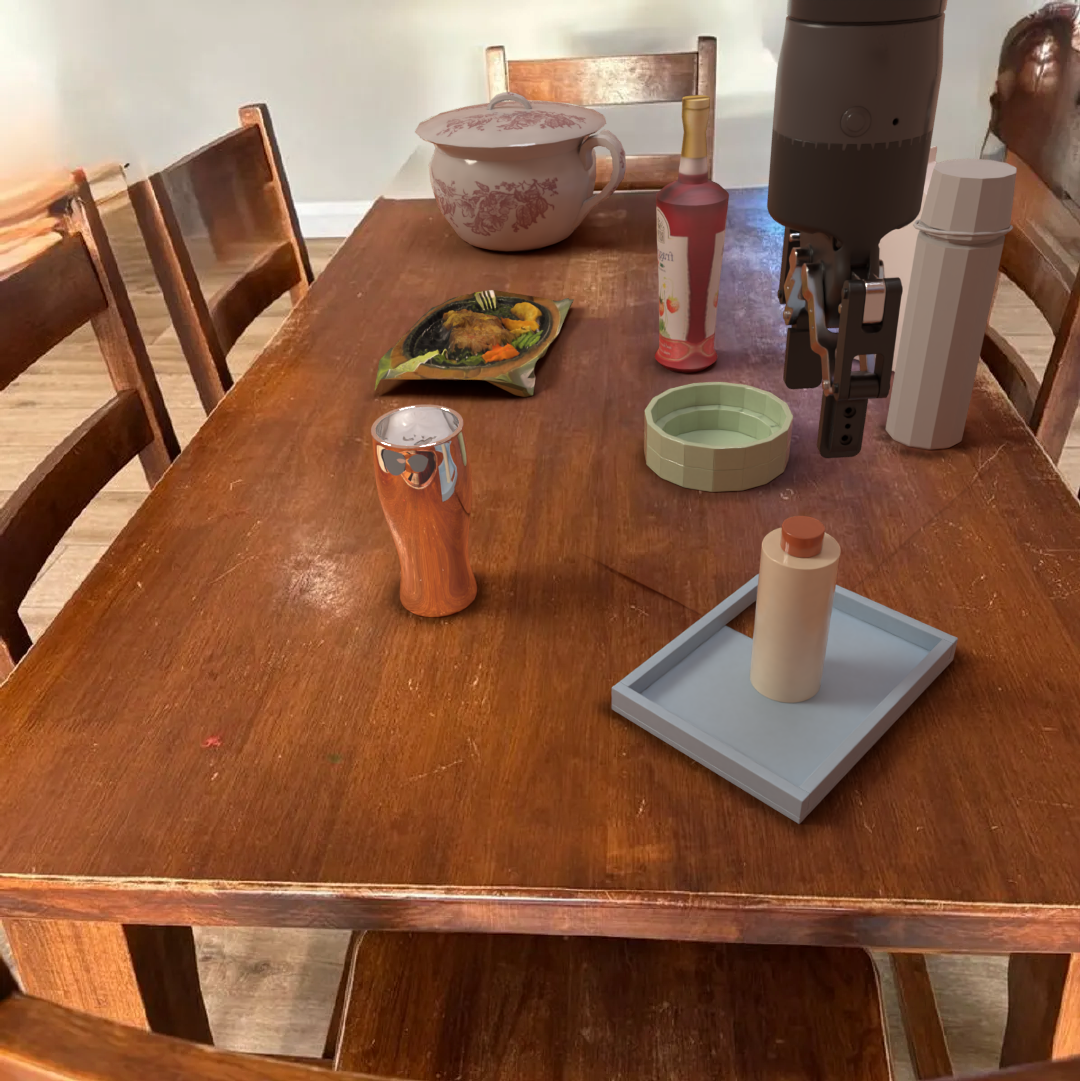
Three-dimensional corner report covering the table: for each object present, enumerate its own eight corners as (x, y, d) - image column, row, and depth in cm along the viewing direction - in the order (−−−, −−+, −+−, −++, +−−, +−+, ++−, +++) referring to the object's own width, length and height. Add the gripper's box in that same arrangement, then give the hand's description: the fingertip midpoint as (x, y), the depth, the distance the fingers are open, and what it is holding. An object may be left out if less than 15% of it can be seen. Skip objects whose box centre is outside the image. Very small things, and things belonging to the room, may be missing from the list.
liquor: (728, 375, 110) (746, 101, 95) (664, 384, 109) (671, 108, 93) (705, 349, 116) (718, 87, 101) (644, 358, 115) (648, 94, 99)
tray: (775, 579, 79) (777, 558, 78) (953, 660, 71) (958, 637, 70) (611, 709, 68) (611, 687, 67) (799, 824, 59) (802, 801, 58)
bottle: (775, 646, 72) (791, 497, 65) (834, 676, 69) (858, 524, 62) (735, 681, 69) (748, 528, 62) (796, 713, 66) (816, 558, 59)
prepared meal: (437, 275, 130) (574, 276, 127) (440, 301, 132) (575, 303, 129) (363, 374, 108) (526, 379, 105) (369, 403, 111) (529, 409, 107)
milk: (927, 356, 112) (967, 149, 100) (898, 374, 109) (935, 162, 96) (878, 342, 116) (911, 140, 104) (849, 358, 113) (878, 152, 100)
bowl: (700, 415, 103) (703, 370, 100) (814, 456, 95) (820, 408, 92) (616, 465, 95) (616, 417, 92) (731, 513, 87) (735, 463, 85)
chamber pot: (405, 228, 160) (388, 88, 149) (563, 202, 168) (559, 67, 157) (462, 282, 139) (448, 122, 127) (641, 249, 147) (642, 96, 135)
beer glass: (382, 584, 81) (354, 417, 73) (461, 559, 84) (443, 394, 75) (413, 632, 76) (387, 458, 67) (497, 603, 78) (482, 432, 70)
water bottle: (973, 457, 93) (1035, 180, 79) (885, 454, 95) (930, 180, 81) (955, 412, 101) (1009, 151, 87) (874, 410, 102) (914, 152, 88)
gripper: (986, 149, 43) (925, 478, 52) (886, 86, 55) (851, 363, 64) (808, 159, 43) (778, 485, 52) (747, 94, 55) (731, 369, 64)
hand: (818, 418), depth 58 cm, fingers open, 8 cm apart
